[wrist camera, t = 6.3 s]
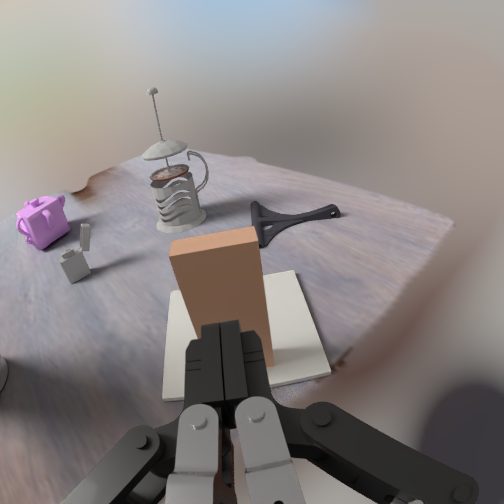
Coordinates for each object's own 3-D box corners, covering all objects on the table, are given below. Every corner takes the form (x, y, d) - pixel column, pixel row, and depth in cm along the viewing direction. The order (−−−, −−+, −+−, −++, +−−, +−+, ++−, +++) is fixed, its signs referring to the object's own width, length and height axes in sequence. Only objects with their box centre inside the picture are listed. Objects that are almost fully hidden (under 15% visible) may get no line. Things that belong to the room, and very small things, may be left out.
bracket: (351, 241, 46) (352, 225, 45) (253, 253, 47) (251, 237, 45) (329, 201, 58) (329, 188, 57) (251, 210, 59) (249, 196, 57)
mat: (164, 401, 27) (162, 398, 26) (172, 294, 40) (171, 291, 40) (330, 374, 27) (331, 371, 27) (293, 273, 41) (293, 269, 40)
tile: (212, 376, 28) (168, 256, 20) (211, 358, 30) (171, 239, 22) (274, 365, 28) (258, 240, 21) (271, 349, 30) (253, 225, 22)
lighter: (70, 284, 45) (50, 243, 40) (69, 279, 46) (49, 239, 41) (106, 265, 48) (89, 223, 44) (104, 261, 49) (87, 220, 45)
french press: (157, 214, 61) (126, 94, 47) (212, 201, 63) (189, 78, 49) (155, 238, 53) (117, 97, 39) (219, 222, 55) (193, 78, 41)
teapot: (18, 245, 61) (2, 209, 56) (59, 217, 71) (46, 183, 65) (40, 262, 52) (19, 219, 47) (89, 227, 62) (74, 185, 56)
